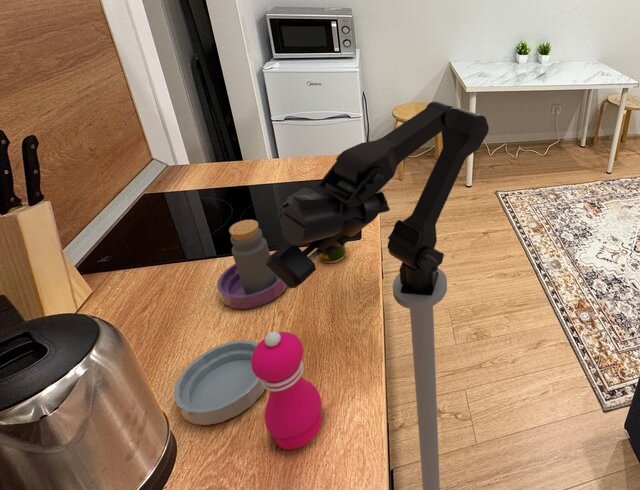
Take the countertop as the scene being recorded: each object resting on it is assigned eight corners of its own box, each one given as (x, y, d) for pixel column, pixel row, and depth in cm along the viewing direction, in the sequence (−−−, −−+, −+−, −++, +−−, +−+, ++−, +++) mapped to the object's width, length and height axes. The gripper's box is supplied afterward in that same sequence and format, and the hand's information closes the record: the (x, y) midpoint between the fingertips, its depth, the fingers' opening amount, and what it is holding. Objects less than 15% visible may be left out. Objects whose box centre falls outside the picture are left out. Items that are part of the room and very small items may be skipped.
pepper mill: (266, 422, 62) (232, 329, 53) (316, 394, 66) (293, 303, 57) (278, 465, 57) (244, 370, 48) (332, 432, 61) (310, 339, 52)
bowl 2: (286, 357, 72) (282, 343, 70) (242, 430, 61) (236, 416, 59) (216, 351, 72) (211, 337, 70) (160, 423, 61) (152, 408, 59)
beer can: (336, 245, 98) (329, 202, 93) (351, 255, 95) (344, 211, 90) (315, 257, 94) (307, 213, 89) (330, 267, 91) (322, 223, 86)
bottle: (275, 293, 83) (259, 233, 77) (241, 299, 82) (221, 238, 75) (278, 273, 88) (263, 215, 81) (247, 279, 86) (229, 220, 79)
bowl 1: (301, 269, 91) (298, 256, 89) (269, 313, 80) (265, 299, 78) (246, 264, 91) (242, 252, 89) (207, 308, 80) (202, 294, 78)
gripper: (347, 157, 74) (305, 197, 81) (262, 213, 58) (220, 256, 65) (389, 203, 76) (344, 238, 83) (318, 271, 59) (271, 306, 67)
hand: (300, 256), depth 75 cm, fingers open, 9 cm apart
